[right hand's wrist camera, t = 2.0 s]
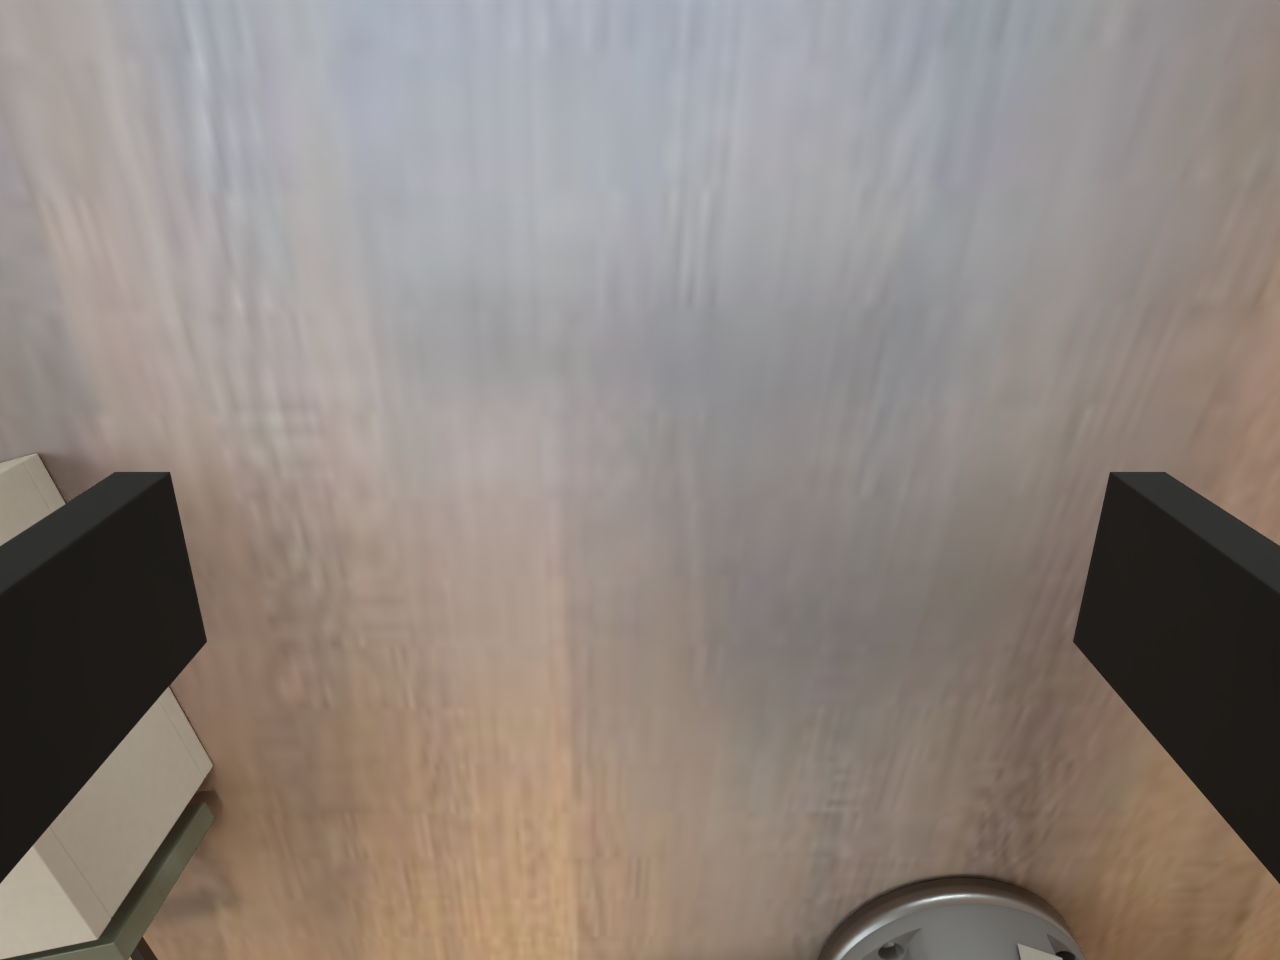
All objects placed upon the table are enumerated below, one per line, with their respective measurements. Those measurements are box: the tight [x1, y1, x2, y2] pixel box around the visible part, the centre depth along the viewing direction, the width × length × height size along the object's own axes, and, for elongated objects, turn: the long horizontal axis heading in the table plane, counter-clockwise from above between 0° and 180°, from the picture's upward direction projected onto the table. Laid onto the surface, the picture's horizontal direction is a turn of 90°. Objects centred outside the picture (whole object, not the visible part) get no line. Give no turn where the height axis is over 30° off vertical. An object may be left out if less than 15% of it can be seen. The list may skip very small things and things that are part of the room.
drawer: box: [1, 802, 215, 960], centre depth 40 cm, size 23×10×8 cm, turn 15°
